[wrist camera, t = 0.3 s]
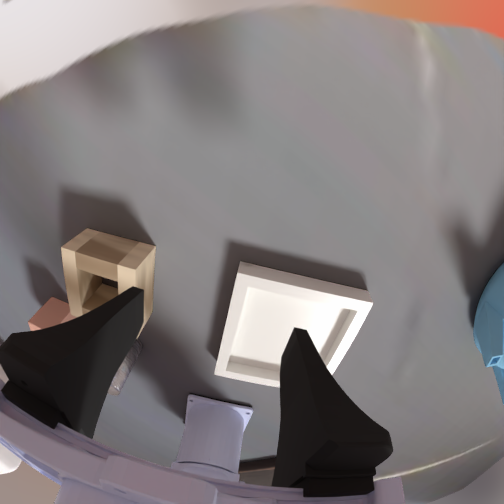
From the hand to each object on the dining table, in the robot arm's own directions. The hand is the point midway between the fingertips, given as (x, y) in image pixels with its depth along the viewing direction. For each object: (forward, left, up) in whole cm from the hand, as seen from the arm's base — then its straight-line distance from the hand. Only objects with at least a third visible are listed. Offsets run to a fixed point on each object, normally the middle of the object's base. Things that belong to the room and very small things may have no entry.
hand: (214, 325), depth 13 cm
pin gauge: (-15, +9, -10) cm, 20 cm away
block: (-15, +18, -10) cm, 25 cm away
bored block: (-6, +10, -10) cm, 15 cm away
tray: (-8, -6, -10) cm, 14 cm away
